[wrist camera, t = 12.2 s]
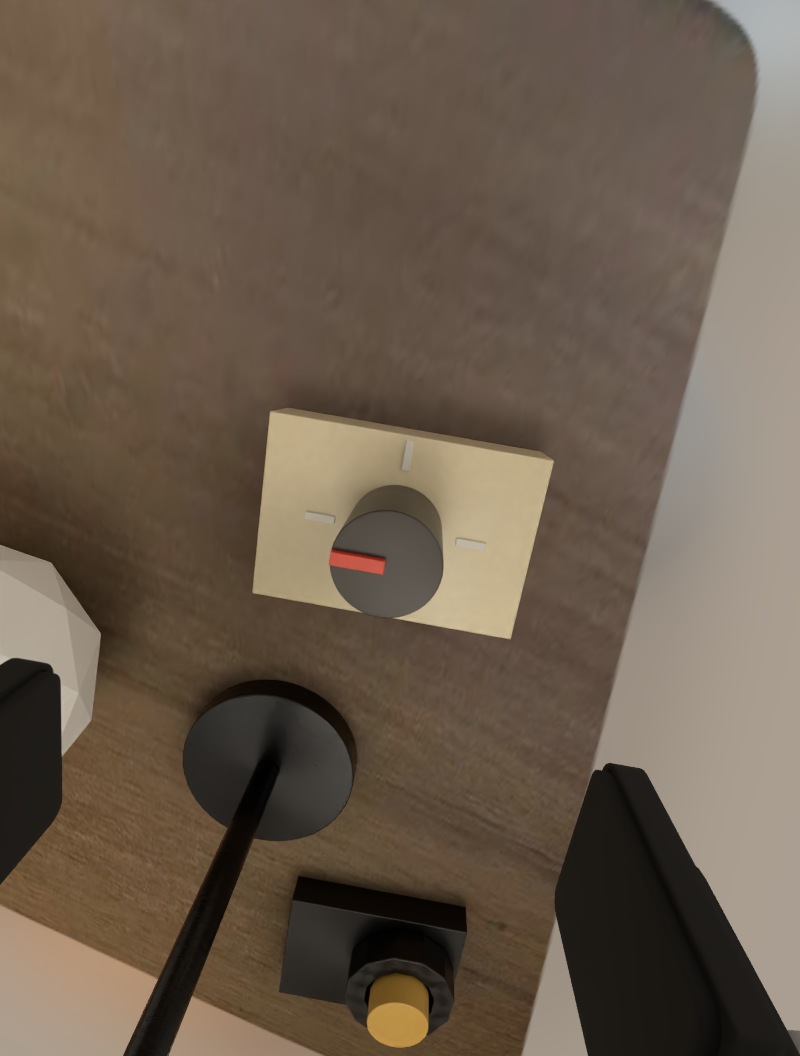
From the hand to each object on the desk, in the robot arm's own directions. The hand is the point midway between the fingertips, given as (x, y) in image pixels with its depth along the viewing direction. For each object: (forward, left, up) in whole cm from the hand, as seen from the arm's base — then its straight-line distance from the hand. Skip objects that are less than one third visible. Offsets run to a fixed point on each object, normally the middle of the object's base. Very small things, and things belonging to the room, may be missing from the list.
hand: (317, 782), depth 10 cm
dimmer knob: (0, 0, -17) cm, 17 cm away
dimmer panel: (0, 0, -20) cm, 20 cm away
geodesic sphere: (+20, +10, -20) cm, 30 cm away
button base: (-3, +29, -20) cm, 36 cm away
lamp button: (-5, +29, -17) cm, 34 cm away
